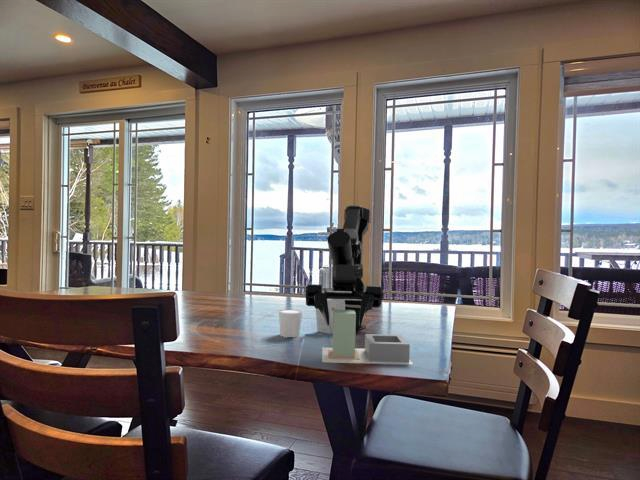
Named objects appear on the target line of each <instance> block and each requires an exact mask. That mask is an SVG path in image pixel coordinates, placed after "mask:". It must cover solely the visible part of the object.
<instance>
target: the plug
mask: <svg viewBox="0 0 640 480" xmlns="http://www.w3.org/2000/svg"><path fill="white" fill-rule="evenodd" d="M356 331H357V330H356V313H355V311H354V310H336V309H334V311H333V334H332V348H333V357H355V348H356Z"/></svg>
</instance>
